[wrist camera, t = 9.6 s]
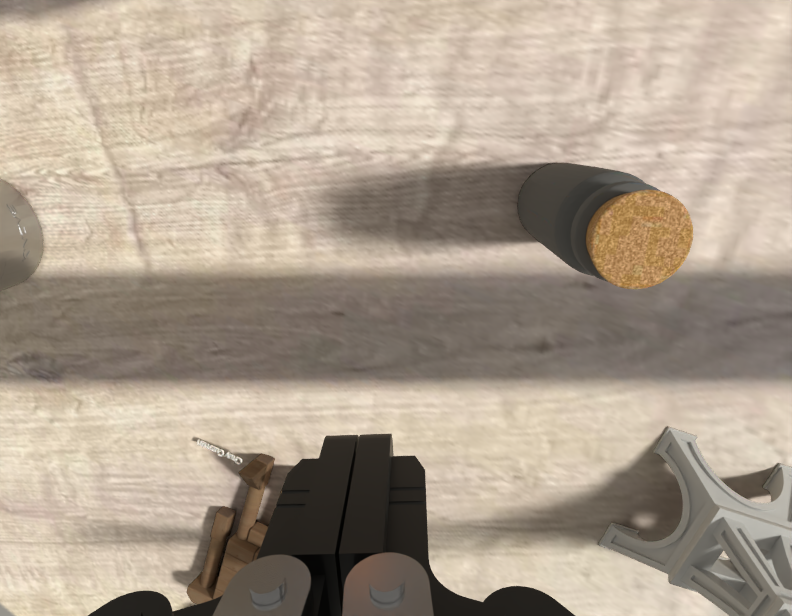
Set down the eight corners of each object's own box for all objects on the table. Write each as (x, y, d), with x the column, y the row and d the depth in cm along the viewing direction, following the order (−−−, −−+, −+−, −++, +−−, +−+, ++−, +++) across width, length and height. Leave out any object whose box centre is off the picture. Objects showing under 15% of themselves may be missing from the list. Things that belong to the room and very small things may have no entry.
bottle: (503, 225, 39) (557, 275, 25) (538, 149, 37) (617, 156, 23) (573, 253, 39) (665, 318, 25) (610, 179, 38) (732, 205, 23)
